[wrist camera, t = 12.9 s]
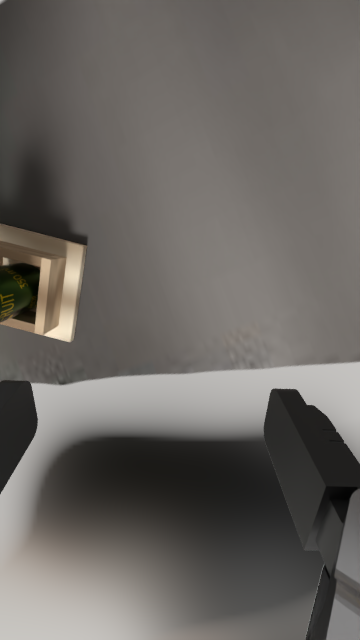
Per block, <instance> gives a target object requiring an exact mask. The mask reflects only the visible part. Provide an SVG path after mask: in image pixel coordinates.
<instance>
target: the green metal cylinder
mask: <svg viewBox="0 0 360 640" xmlns="http://www.w3.org/2000/svg"><path fill="white" fill-rule="evenodd" d="M39 281H40V270H39V269H38V268H36V267H35V266H33V265H30V264H27V263H16V264H9V265H2V266H0V322H3V321H5V320H8V319H10V318H12V317H15V316H17V315H19V314H22V313H24V312H27V311H29V310H31V309H34V308H36V307H37V301H38V291H39Z"/></svg>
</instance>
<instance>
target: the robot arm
mask: <svg viewBox="0 0 360 640" xmlns="http://www.w3.org/2000/svg"><path fill="white" fill-rule="evenodd" d="M37 421H38V418H37V413H36V407H35V402H34V397H33V391H32V387H31V384H30V382H29V381H10V380H4V381H1V382H0V494H1V492H2V490H3V489H4V487H5V485H6V484H7V482H8V480H9V478H10V477H11V475H12V473H13V472H14V470H15V468H16V467H17V465H18V463H19V462H20V460H21V458H22V456H23V455H24V453H25V451H26V450H27V448H28V446H29V445H30V443H31V441H32V440H33V438H34V436H35V433H36V429H37V423H38V422H37ZM264 438H265V443H266V446H267V449H268V451H269V454H270V457H271V460H272V463H273V465H274V468H275V471H276V474H277V477H278V479H279V482H280V485H281V488H282V490H283V493H284V496H285V499H286V501H287V504H288V507H289V510H290V512H291V515H292V518H293V521H294V524H295V526H296V529H297V532H298V535H299V537H300V540H301V543H302V546H303V549H304V550H310V551H312V550H313V551H320V553H321V555H322V558H323V560H324V563H325V564H324V566H323V569H322V573H321V576H320V581H319V585H318V589H317V593H316V597H315V601H314V605H313V609H312V613H311V617H310V621H309V625H308V629H307V633H306V637H305V640H360V464H359V462H358V461H357V459H356V458H355V456H354V455H353V454H352V452H351V451H350V449H349V448H348V446H347V445H346V444H344V440H343V439H342V437H341V436H340V435H339V433H338V432H336V429H335V427H334V426H333V424H332V423H331V421H330V420H329V419H328V417H327V416H326V415H325V414H323V413H322V412H321V411H320V410H318V409H317V408H316V407H315V406H313V405H306V403H305V401H304V400H303V398H302V397H301V395H300V393H299V392H298V391H297V390H296V389H272V390H271V393H270V398H269V402H268V408H267V412H266V418H265V422H264Z"/></svg>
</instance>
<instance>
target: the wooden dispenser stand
mask: <svg viewBox="0 0 360 640" xmlns="http://www.w3.org/2000/svg"><path fill="white" fill-rule="evenodd" d="M86 249H87V245H83V244H79V243H75V242H71V241H67V240H63V239H59V238H55V237H51V236H47V235H43V234H40V233H36V232H32V231H28V230H24V229H20V228H16V227H12V226H8V225H4V224H0V266H2V265H9V264H16V263H27V264H30V265H33V266H35V267H36V268H38V269H39V270H40V281H39V291H38V301H37V307H36V308H34V309H31V310H29V311H27V312H24V313H22V314H19V315H17V316H15V317H12V318H10V319H8V320H5V321H3V322H0V324H2V325H6V326H10V327H14V328H18V329H21V330H25V331H29V332H33V333H37V334H41V335H44V336H48V337H52V338H56V339H60V340H63V341H67V342H71V341H73V340H74V335H75V327H76V320H77V313H78V306H79V299H80V292H81V285H82V278H83V271H84V264H85V257H86Z"/></svg>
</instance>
